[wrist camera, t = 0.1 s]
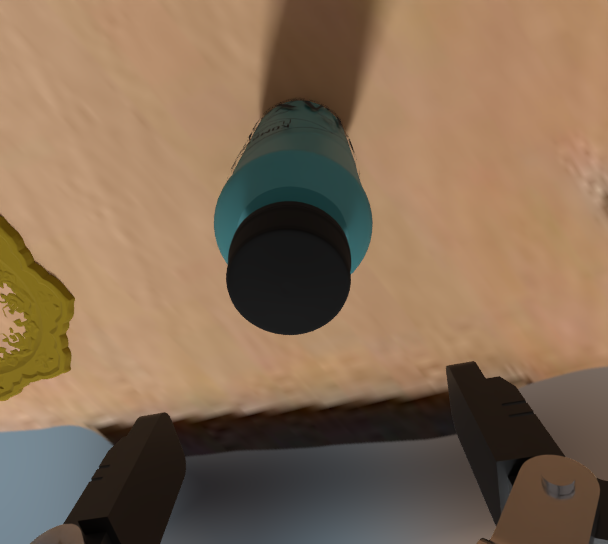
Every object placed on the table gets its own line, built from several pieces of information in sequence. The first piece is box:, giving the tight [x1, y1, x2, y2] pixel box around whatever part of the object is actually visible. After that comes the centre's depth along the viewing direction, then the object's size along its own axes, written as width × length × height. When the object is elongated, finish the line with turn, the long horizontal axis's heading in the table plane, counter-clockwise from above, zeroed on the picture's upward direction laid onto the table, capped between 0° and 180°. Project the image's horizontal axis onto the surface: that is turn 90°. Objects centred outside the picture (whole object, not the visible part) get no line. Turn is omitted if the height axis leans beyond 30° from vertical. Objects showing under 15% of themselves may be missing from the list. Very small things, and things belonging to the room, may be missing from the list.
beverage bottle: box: [214, 98, 373, 335], centre depth 22 cm, size 6×7×20 cm
